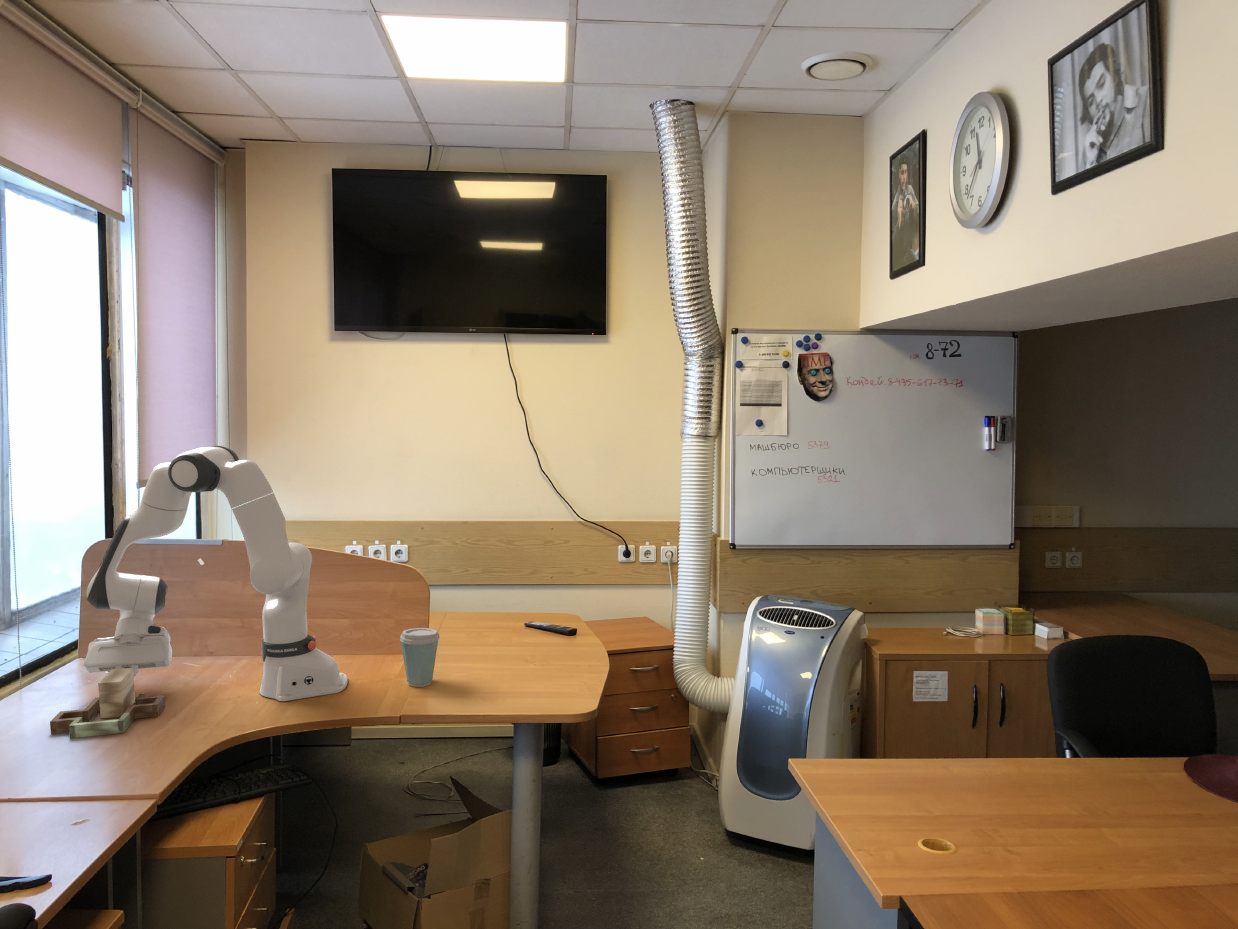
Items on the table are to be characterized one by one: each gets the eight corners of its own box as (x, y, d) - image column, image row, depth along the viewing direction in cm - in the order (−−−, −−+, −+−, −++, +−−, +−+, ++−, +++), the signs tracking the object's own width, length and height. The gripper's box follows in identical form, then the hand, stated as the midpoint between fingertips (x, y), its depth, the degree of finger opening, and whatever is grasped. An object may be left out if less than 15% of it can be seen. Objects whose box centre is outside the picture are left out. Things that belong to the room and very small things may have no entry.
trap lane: (167, 702, 219) (167, 691, 219) (148, 730, 202) (147, 718, 202) (72, 711, 214) (72, 699, 213) (44, 740, 196) (43, 728, 196)
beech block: (135, 701, 220) (133, 668, 219) (123, 716, 210) (120, 681, 209) (113, 703, 219) (111, 669, 218) (100, 718, 209) (98, 683, 208)
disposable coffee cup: (411, 675, 239) (410, 623, 237) (447, 677, 237) (445, 625, 235) (394, 688, 228) (392, 634, 227) (431, 691, 226) (429, 637, 225)
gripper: (86, 633, 223) (75, 682, 215) (171, 627, 228) (164, 674, 220) (93, 644, 228) (83, 692, 219) (176, 638, 233) (169, 685, 224)
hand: (124, 683), depth 220 cm, fingers closed, pressing on beech block
